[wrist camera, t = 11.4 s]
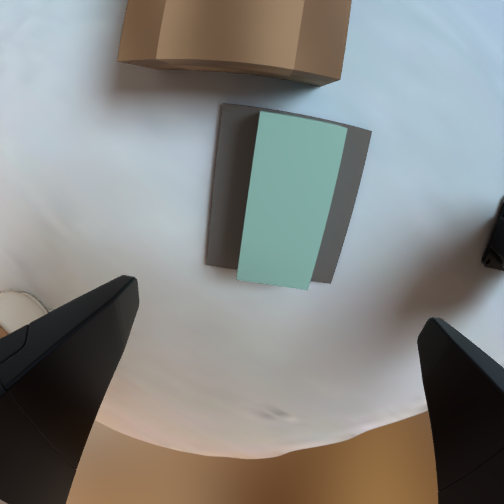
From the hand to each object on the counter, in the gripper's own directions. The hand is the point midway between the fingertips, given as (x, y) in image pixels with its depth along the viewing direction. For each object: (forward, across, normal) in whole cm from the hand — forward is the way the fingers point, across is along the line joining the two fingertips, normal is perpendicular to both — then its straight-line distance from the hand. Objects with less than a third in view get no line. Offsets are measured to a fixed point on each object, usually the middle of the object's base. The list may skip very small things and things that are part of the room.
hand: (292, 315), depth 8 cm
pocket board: (+12, +4, -17) cm, 21 cm away
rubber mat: (+12, 0, 0) cm, 12 cm away
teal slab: (+11, 0, 0) cm, 11 cm away
